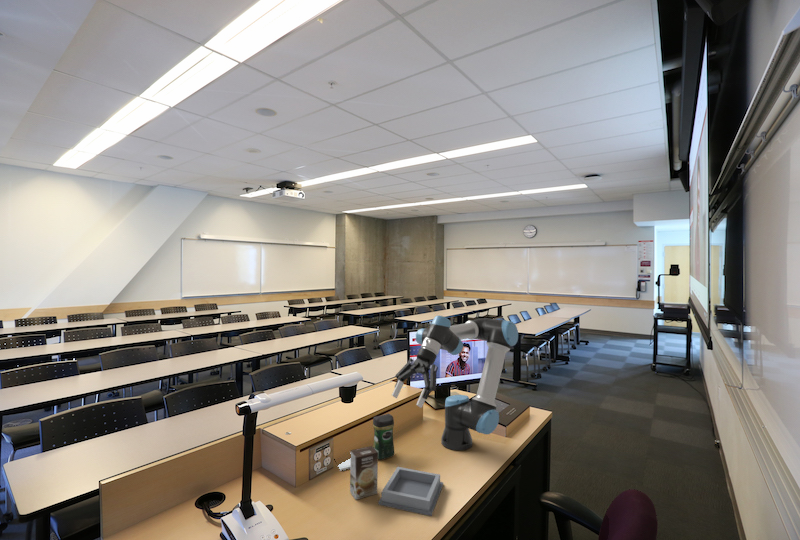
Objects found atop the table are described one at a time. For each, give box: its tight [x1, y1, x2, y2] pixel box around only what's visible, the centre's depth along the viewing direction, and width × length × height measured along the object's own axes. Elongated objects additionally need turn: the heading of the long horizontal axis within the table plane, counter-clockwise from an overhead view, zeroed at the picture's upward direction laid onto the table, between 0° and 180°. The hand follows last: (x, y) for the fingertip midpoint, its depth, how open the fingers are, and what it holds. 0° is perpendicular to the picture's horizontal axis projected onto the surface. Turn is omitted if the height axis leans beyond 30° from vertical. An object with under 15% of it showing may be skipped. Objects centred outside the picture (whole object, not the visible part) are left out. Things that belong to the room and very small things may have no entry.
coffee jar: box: [372, 413, 395, 461], centre depth 174 cm, size 10×8×19 cm
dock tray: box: [377, 466, 444, 517], centre depth 145 cm, size 20×20×4 cm
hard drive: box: [337, 458, 351, 472], centre depth 168 cm, size 2×8×12 cm
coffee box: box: [349, 445, 379, 500], centre depth 146 cm, size 9×6×16 cm
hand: (406, 401), depth 144 cm, fingers open, 13 cm apart
